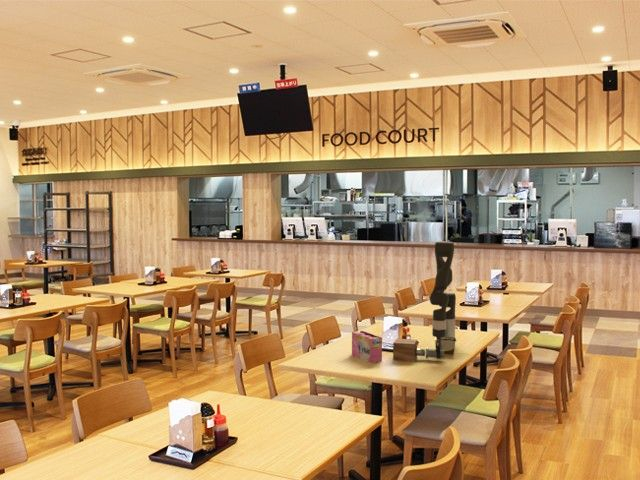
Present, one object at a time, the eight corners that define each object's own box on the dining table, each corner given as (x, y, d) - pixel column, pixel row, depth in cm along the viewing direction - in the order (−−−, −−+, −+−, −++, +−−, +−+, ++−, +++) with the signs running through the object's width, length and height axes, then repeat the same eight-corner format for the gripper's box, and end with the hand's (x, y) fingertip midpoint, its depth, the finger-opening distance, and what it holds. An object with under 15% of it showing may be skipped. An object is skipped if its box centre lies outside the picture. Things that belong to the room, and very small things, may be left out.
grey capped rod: (411, 355, 383) (411, 345, 383) (444, 357, 378) (444, 347, 378) (410, 358, 377) (410, 347, 377) (443, 360, 372) (443, 349, 372)
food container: (455, 352, 395) (455, 336, 394) (456, 355, 389) (456, 338, 388) (434, 352, 396) (434, 335, 396) (435, 354, 390) (435, 338, 390)
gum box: (350, 354, 393) (350, 331, 392) (361, 352, 397) (361, 330, 396) (370, 362, 372) (370, 339, 371) (382, 361, 375) (382, 337, 374)
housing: (396, 355, 389) (396, 338, 388) (417, 356, 385) (417, 339, 385) (393, 360, 377) (393, 342, 377) (414, 361, 374) (414, 344, 373)
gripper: (433, 325, 382) (433, 354, 384) (430, 329, 369) (430, 360, 370) (447, 325, 380) (446, 355, 381) (444, 330, 367) (444, 361, 368)
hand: (438, 357), depth 376 cm, fingers closed on grey capped rod, 3 cm apart
